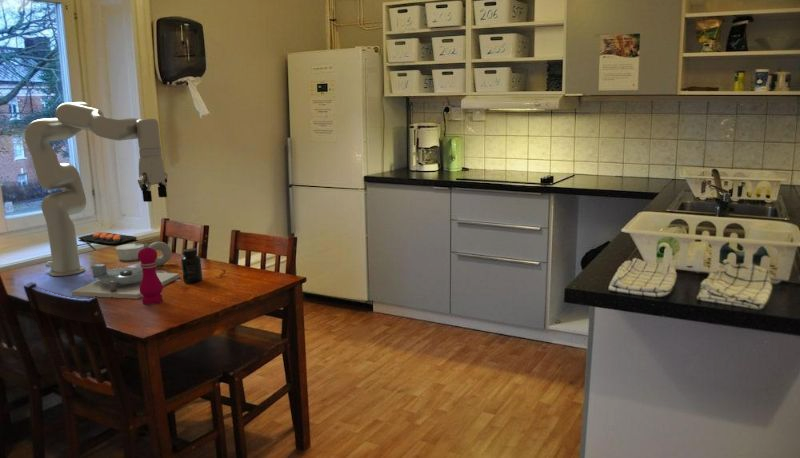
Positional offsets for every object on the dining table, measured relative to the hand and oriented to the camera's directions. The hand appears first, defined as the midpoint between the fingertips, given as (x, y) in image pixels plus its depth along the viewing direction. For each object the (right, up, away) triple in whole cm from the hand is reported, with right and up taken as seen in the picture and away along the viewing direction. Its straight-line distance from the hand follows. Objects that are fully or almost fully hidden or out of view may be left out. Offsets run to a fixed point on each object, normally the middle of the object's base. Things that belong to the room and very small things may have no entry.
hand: (155, 199), depth 244 cm
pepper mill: (+8, -35, -24) cm, 43 cm away
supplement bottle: (+14, -31, -1) cm, 34 cm away
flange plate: (-10, -29, -5) cm, 31 cm away
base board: (-8, -32, -5) cm, 33 cm away
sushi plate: (-54, -19, +67) cm, 89 cm away
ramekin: (-24, -24, +37) cm, 50 cm away
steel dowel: (-9, -33, -16) cm, 37 cm away
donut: (-7, -26, +23) cm, 35 cm away
